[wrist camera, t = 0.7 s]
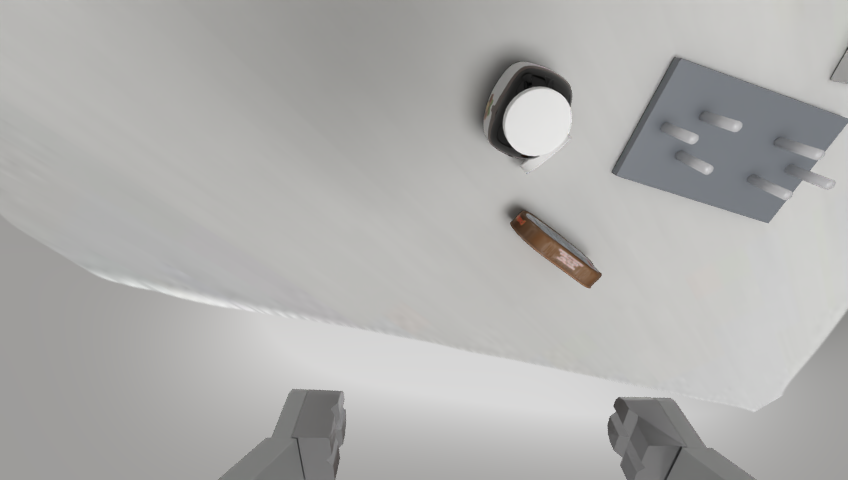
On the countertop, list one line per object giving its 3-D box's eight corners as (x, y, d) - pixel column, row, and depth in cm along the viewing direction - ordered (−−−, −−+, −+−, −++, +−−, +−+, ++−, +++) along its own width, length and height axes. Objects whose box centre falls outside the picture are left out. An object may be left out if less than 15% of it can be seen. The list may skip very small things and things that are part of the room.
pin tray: (674, 57, 48) (713, 62, 41) (839, 117, 51) (900, 130, 44) (611, 172, 55) (636, 191, 48) (760, 218, 58) (803, 243, 51)
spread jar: (507, 51, 48) (528, 58, 38) (588, 87, 50) (629, 103, 40) (466, 143, 53) (475, 171, 43) (541, 173, 55) (566, 207, 45)
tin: (504, 214, 58) (515, 242, 51) (519, 198, 57) (532, 224, 50) (576, 268, 62) (595, 300, 55) (591, 254, 61) (613, 285, 54)
